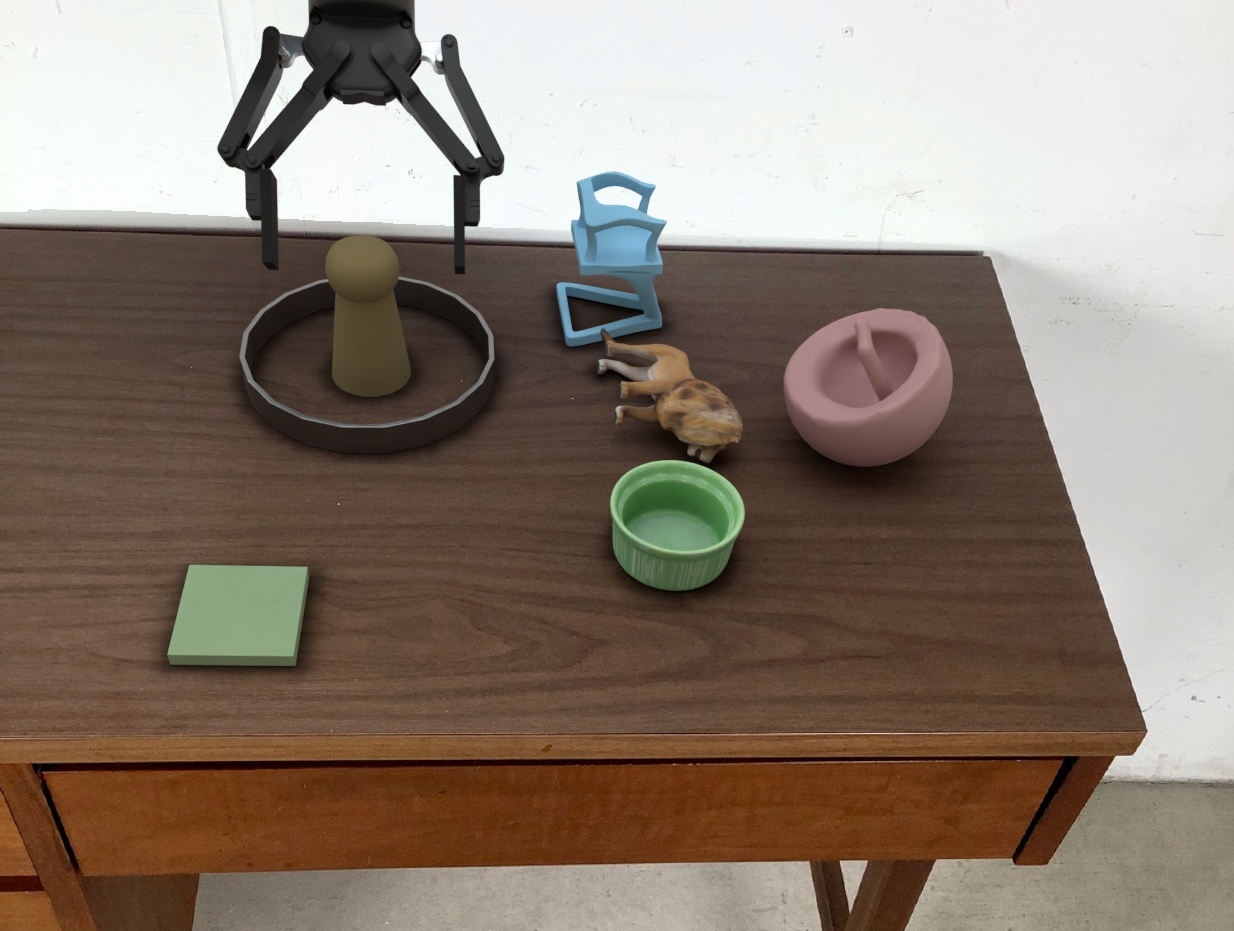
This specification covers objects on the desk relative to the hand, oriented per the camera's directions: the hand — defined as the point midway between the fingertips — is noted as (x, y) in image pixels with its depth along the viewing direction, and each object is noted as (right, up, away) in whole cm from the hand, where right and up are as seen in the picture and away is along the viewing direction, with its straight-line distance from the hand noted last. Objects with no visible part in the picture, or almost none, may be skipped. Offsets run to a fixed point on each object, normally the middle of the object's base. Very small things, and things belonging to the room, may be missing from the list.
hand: (365, 269), depth 89 cm
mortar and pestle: (+36, -13, +4) cm, 38 cm away
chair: (+18, -1, +12) cm, 22 cm away
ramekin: (+22, -21, -5) cm, 31 cm away
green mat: (-5, -26, -12) cm, 29 cm away
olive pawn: (-1, -7, +5) cm, 8 cm away
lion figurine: (+18, -9, +2) cm, 20 cm away
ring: (-1, -7, +5) cm, 8 cm away
